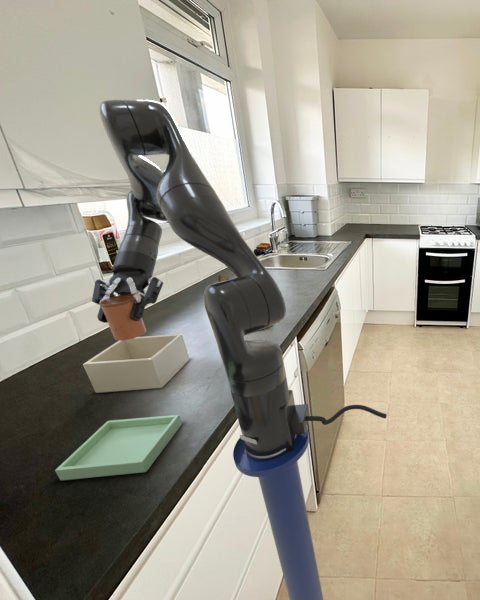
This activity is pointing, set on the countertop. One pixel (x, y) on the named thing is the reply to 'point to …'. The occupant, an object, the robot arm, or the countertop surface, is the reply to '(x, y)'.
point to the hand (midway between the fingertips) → (119, 320)
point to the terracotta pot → (122, 317)
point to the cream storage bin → (137, 363)
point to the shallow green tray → (120, 448)
